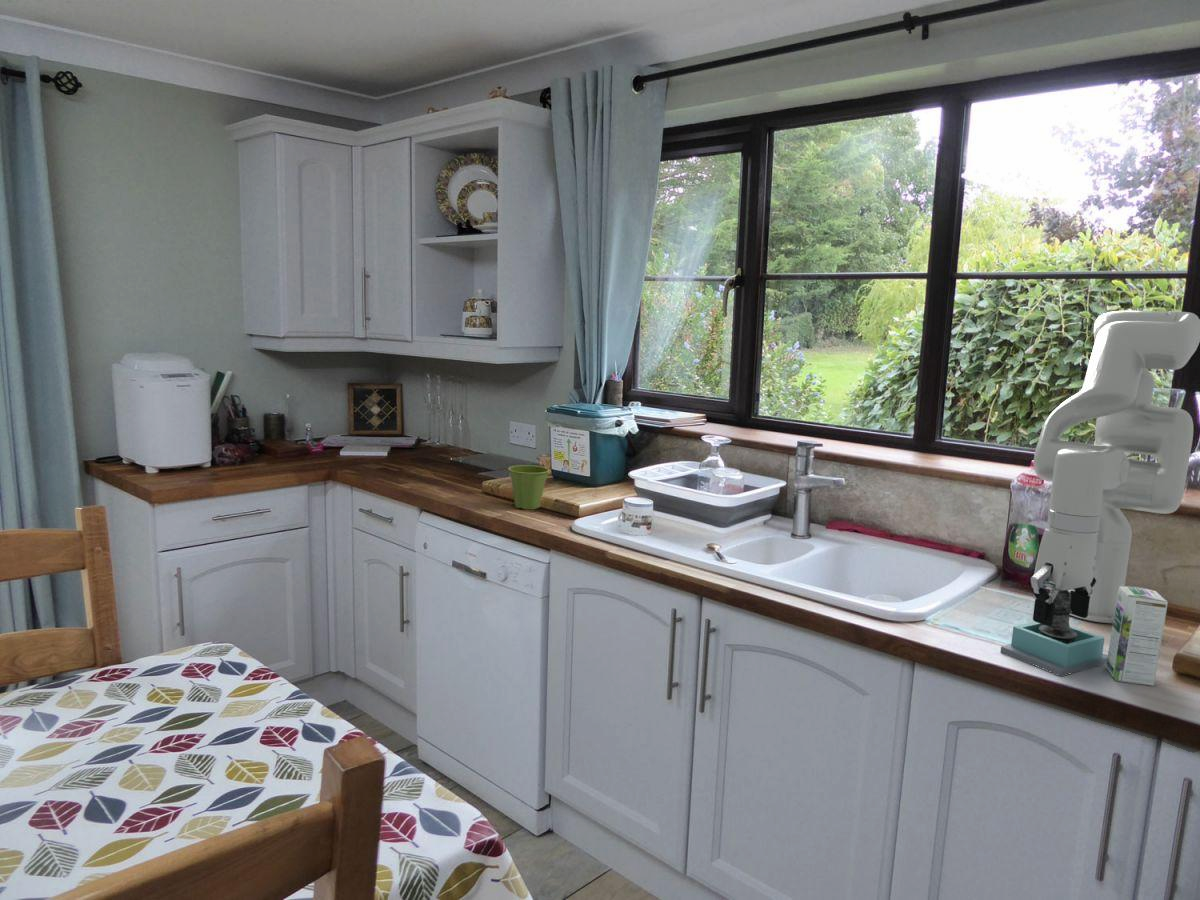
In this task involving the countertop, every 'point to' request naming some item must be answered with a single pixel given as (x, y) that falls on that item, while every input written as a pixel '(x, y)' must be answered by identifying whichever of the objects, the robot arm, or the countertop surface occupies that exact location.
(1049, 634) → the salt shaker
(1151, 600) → the syrup box
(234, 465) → the countertop surface
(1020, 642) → the box
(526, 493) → the plant pot
